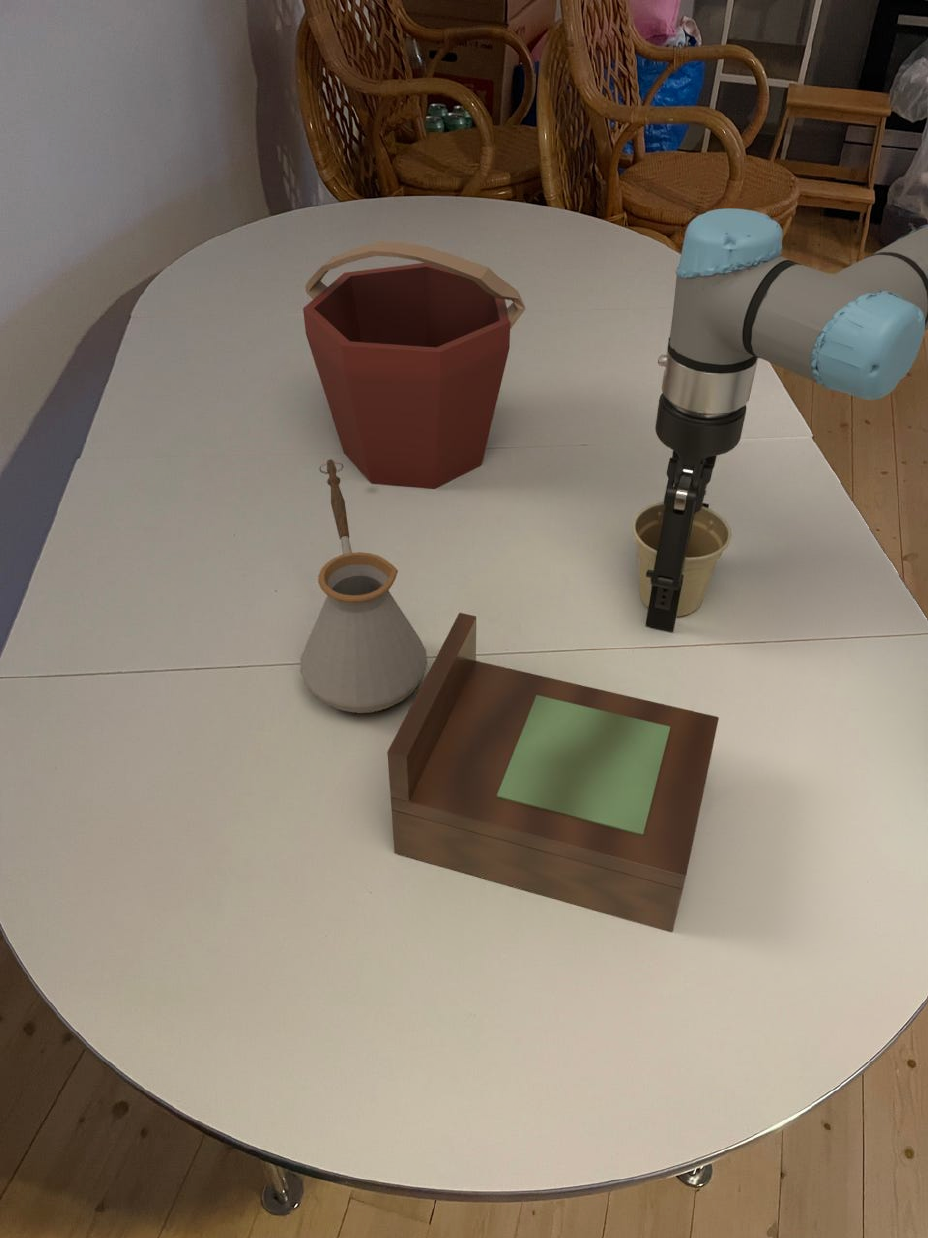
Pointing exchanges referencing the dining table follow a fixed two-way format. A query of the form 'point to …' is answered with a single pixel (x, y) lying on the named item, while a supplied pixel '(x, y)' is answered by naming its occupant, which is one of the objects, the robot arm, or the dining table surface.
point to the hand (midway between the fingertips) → (668, 595)
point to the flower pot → (700, 558)
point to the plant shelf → (549, 784)
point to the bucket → (411, 360)
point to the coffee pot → (360, 629)
